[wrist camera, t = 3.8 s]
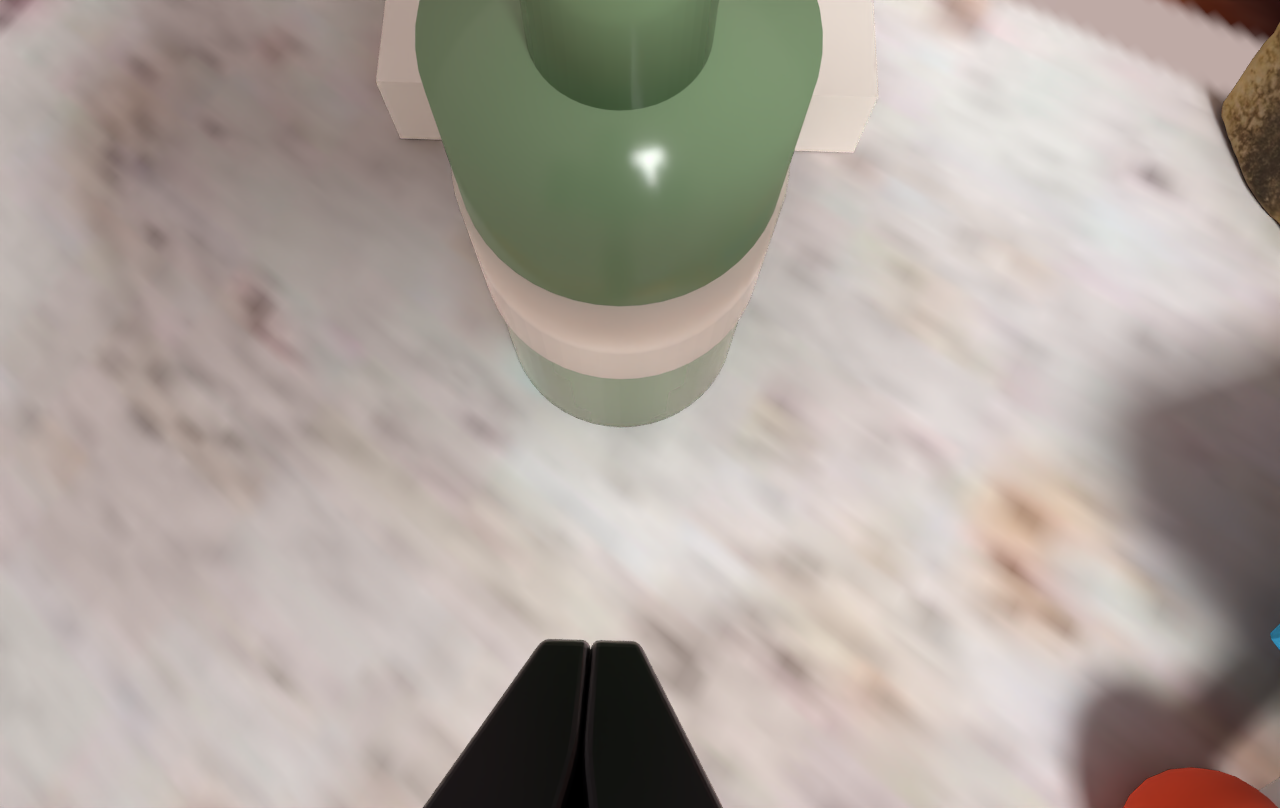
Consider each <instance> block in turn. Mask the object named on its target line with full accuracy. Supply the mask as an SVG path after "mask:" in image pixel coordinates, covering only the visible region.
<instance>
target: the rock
mask: <svg viewBox="0 0 1280 808" xmlns="http://www.w3.org/2000/svg"><path fill="white" fill-rule="evenodd" d="M1221 117H1222V119H1223V122H1224V124H1225V127H1226V131H1227V135H1228V138H1229V140H1230V142H1231V144H1232V148H1233V151H1234V153H1235V155H1236V157H1237V159H1238V162H1239V165H1240V168H1241V171H1242V173H1243V176H1244V178H1245V181H1246V182H1247V184H1248V186H1249V188H1250V190H1251V191H1252V193H1253V194H1254V196H1255V197H1256V199H1257V200H1258V202H1259V203H1260V204H1261V205H1262V207H1263V208H1264V209H1265V210H1266V211H1267V213H1268V214H1269V215H1270V216H1271V217H1272V218H1274V219H1275V220H1276V221H1277V222H1278V223H1279V224H1280V23H1279V24H1278V26H1277V28H1276V30H1275V32H1274V34H1273V35H1272V36H1271V37H1270V38H1269V39H1268V40H1267V41H1266V42H1265V43H1264V44H1263V46H1262V47H1261V48H1260V50H1259V51H1258V52H1257V54H1256V55H1255V57H1254V58H1253V59H1252V61H1251V62H1250V64H1249V65H1248V67H1247V68H1246V70H1245V72H1244V73H1243V75H1242V76H1241V78H1240V79H1239V81H1238V82H1237V84H1236V85H1235V87H1234V88H1233V90H1232V91H1231V93H1230V94H1229V95H1228V97H1227V98H1226V99H1225V101H1224V102H1223V105H1222V113H1221Z"/></svg>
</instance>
